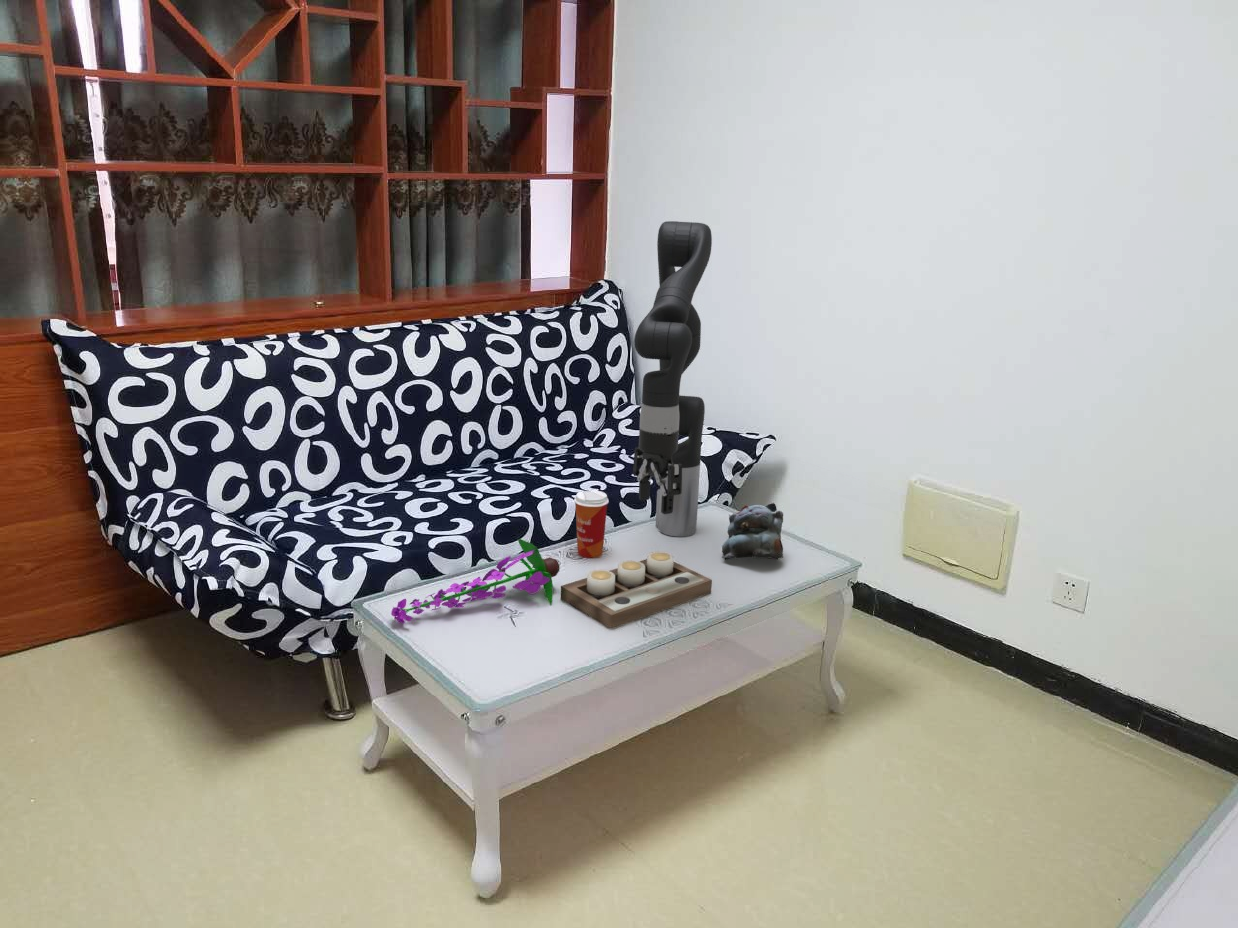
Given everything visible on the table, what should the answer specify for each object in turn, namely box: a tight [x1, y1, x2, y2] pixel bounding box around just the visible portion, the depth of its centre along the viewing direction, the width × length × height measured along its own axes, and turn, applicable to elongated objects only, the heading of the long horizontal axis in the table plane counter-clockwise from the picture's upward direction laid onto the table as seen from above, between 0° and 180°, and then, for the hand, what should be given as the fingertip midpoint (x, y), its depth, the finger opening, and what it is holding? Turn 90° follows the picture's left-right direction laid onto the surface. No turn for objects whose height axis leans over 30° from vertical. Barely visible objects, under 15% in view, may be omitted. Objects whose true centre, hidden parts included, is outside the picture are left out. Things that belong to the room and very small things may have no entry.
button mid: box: [617, 560, 645, 585], centre depth 198 cm, size 6×6×3 cm
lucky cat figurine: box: [721, 502, 784, 561], centre depth 219 cm, size 15×12×14 cm
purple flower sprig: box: [390, 538, 561, 624], centre depth 190 cm, size 12×16×35 cm
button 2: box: [646, 551, 675, 576], centre depth 203 cm, size 6×6×3 cm
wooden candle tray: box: [560, 558, 713, 630], centre depth 198 cm, size 16×27×3 cm, turn 130°
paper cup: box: [573, 489, 610, 559], centre depth 216 cm, size 8×8×14 cm
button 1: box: [586, 569, 615, 595], centre depth 193 cm, size 6×6×3 cm
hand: (655, 506), depth 189 cm, fingers open, 8 cm apart
